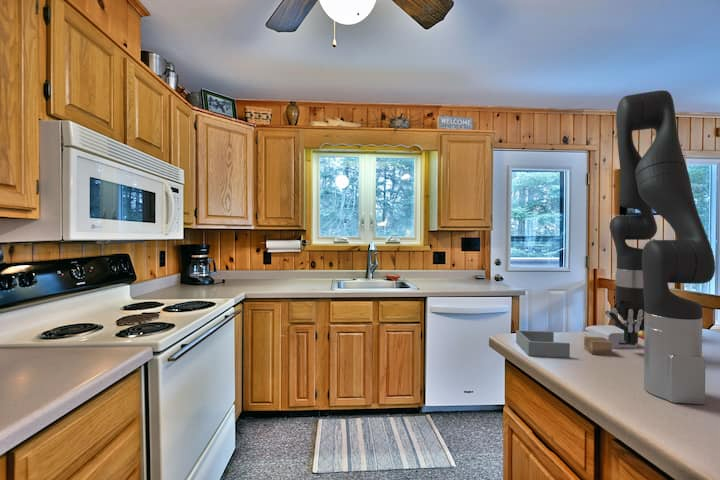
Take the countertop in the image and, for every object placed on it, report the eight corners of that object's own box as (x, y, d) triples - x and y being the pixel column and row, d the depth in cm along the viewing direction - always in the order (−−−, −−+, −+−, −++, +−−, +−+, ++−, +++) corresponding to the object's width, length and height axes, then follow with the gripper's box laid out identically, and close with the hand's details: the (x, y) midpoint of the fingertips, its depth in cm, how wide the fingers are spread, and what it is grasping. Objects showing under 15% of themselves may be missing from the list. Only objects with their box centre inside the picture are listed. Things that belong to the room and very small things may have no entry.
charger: (601, 334, 119) (638, 348, 104) (575, 334, 118) (608, 349, 103) (601, 320, 119) (638, 332, 104) (575, 320, 118) (608, 333, 103)
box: (569, 357, 95) (569, 343, 95) (528, 356, 97) (528, 342, 97) (552, 344, 107) (552, 331, 107) (516, 342, 109) (516, 330, 109)
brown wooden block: (611, 356, 97) (611, 342, 97) (592, 355, 98) (592, 341, 98) (602, 350, 102) (602, 337, 102) (584, 349, 103) (584, 336, 103)
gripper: (613, 286, 96) (613, 347, 96) (667, 287, 94) (666, 349, 94) (599, 282, 103) (598, 339, 104) (648, 282, 101) (647, 340, 102)
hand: (630, 344), depth 99 cm, fingers closed
